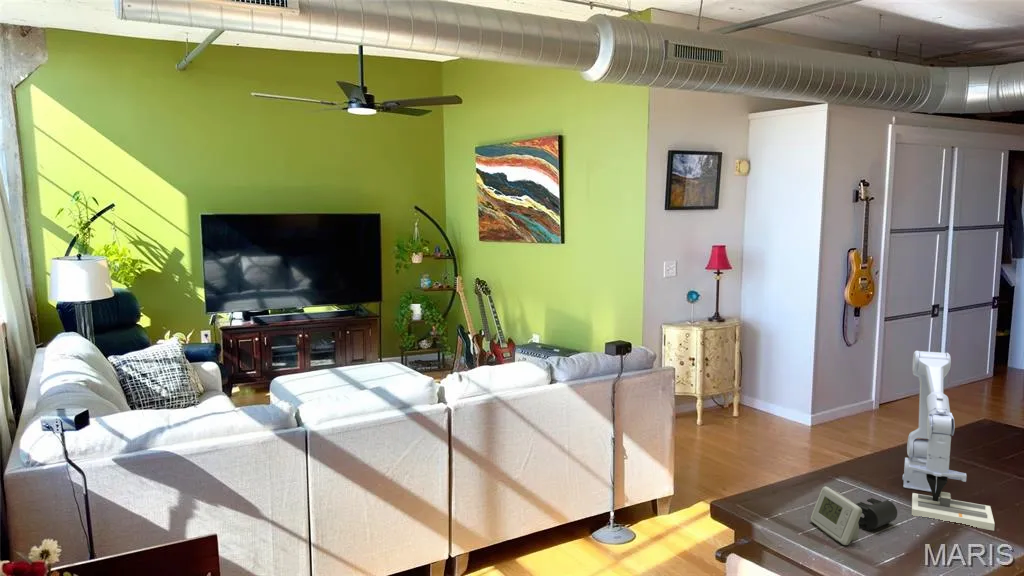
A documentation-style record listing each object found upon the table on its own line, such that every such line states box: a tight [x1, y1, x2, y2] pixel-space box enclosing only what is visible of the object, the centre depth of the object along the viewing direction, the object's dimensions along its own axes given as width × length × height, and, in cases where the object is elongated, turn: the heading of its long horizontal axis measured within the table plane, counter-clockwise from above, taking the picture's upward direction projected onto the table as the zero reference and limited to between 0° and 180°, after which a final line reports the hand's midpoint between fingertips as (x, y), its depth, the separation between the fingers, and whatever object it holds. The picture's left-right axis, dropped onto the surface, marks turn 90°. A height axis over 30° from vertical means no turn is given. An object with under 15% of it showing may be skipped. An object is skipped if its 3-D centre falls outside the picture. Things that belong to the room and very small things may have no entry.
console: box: [911, 492, 996, 532], centre depth 210 cm, size 20×14×3 cm
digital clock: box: [810, 486, 863, 546], centre depth 197 cm, size 16×9×11 cm, turn 178°
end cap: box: [855, 497, 898, 531], centre depth 202 cm, size 10×7×7 cm
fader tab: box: [939, 491, 952, 508], centre depth 211 cm, size 2×4×3 cm, turn 151°
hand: (935, 500), depth 212 cm, fingers closed
